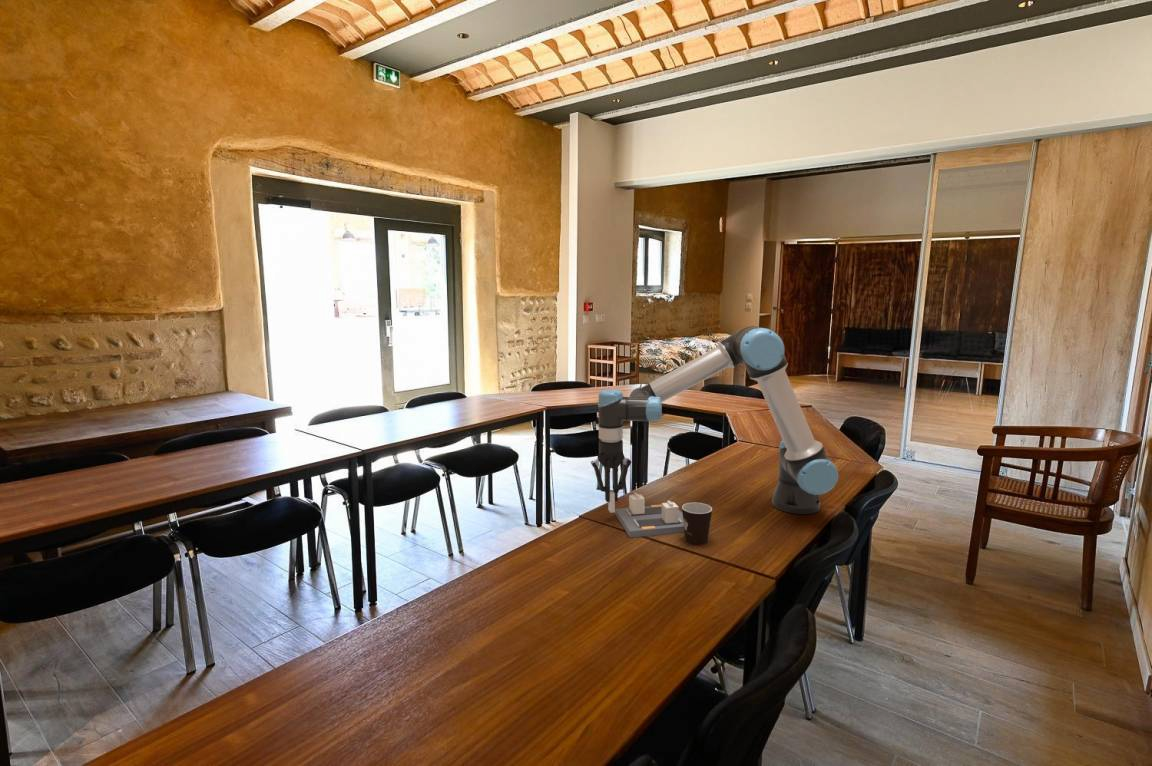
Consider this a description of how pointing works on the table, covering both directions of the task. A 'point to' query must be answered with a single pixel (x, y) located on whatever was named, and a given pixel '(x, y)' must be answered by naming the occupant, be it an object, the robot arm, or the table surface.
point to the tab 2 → (670, 512)
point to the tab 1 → (636, 504)
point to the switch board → (648, 522)
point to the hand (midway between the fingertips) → (611, 510)
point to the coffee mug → (696, 522)
